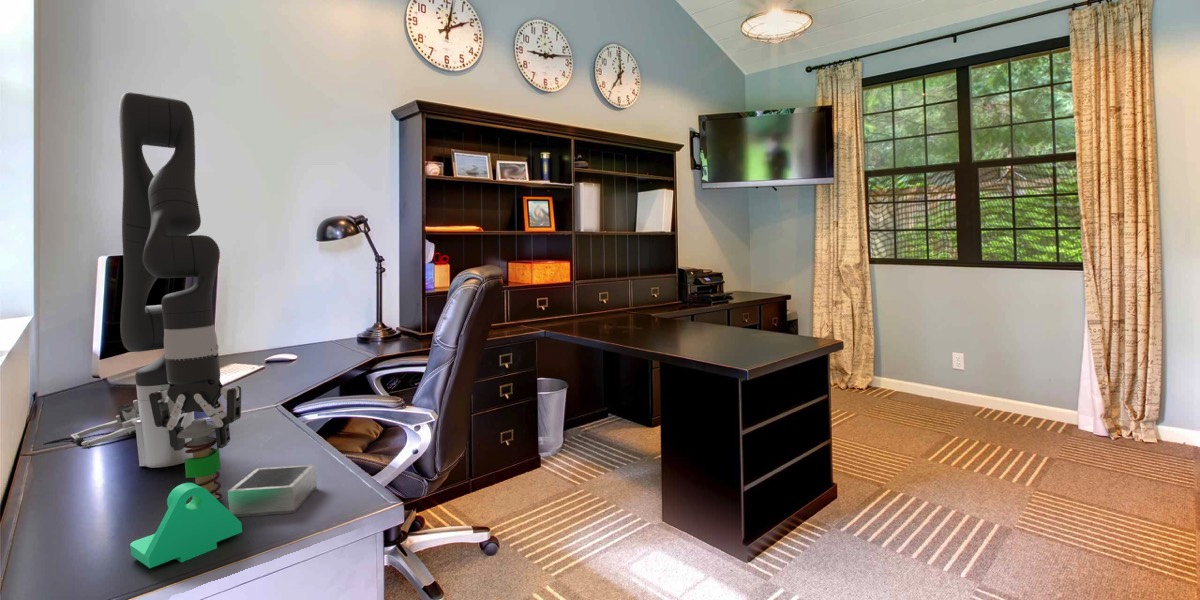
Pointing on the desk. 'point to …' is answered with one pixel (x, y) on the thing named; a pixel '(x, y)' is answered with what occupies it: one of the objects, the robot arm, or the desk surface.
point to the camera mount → (187, 527)
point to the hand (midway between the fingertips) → (201, 447)
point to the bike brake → (109, 426)
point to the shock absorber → (202, 455)
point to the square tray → (272, 491)
